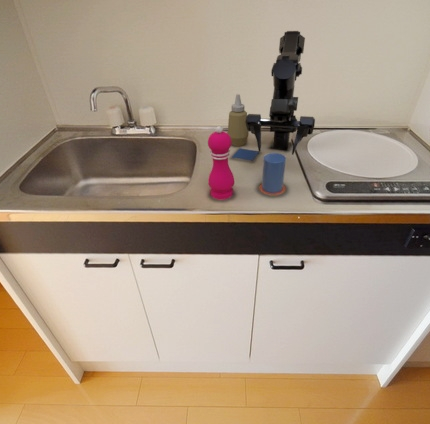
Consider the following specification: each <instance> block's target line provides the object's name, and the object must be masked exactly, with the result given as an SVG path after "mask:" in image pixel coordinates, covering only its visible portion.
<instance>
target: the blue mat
mask: <svg viewBox="0 0 430 424" xmlns="http://www.w3.org/2000/svg"><path fill="white" fill-rule="evenodd" d="M259 154H260V152H259V150H253V149H246V148H239V149H238V150H237V151H236V152H234V154H233V155H232V156H231V158H232V159H239V160H244V161H252V162H253V160H254V159H255V158H256V157H257V155H259Z"/></svg>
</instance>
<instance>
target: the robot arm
mask: <svg viewBox="0 0 430 424" xmlns="http://www.w3.org/2000/svg"><path fill="white" fill-rule="evenodd" d="M283 34H284V35H282V36H281V37H280V38H279V47H278V52H279V55H277V56H276V59H275V62H273V64H272V68H271V71H270V73H271V74H270V75H271V77H272V80H273V93H272V99H271V100H270V101H271V102H270V107H269V113H268V116H269V119H265V118H262V116H261V114H260V113H247V116H246V121H245V123H246V127H247V130H248V132H250V134H252V135H254V137H255V140H256V144H257V149H258V150H257V151H259V153H261V151H262V150H261V149H262V127H264V128H265V127H266V128H269V132H270V133H271V132H272V133H273V140H272V141H273V142H272V143H271V145H270V146H269V147H270V149H274V150H282V151H288V150H289V149H290V147H291V145H292V142H290V135H291V134H294V133H295V132H296V134H295V138H294V142H293V146H292V151H291V156H292V155H293V156H294V154H295V152H296V150H297V149H298V146H299V144H300V142H301V141H303V138H307V137H308V135H312V134H313V132H314V129H315V124H316V119H315V117H314V116H307V115H304V116H303V115H300V117H299V120H298V119H297V118H296V117H297V116H296V115H295V112H296V111H298V103H299V96H294V95H295V93H294V92H295V88H296V87H295V83H296V81H297V78H299V77H300V76H301V75H302V74H303V73H302V72H303V67H302V64H301V59H302V54H304V49H305V42H306V38H305V36H303V35H302V34H301V31H299V30H287V31H284V33H283Z"/></svg>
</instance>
